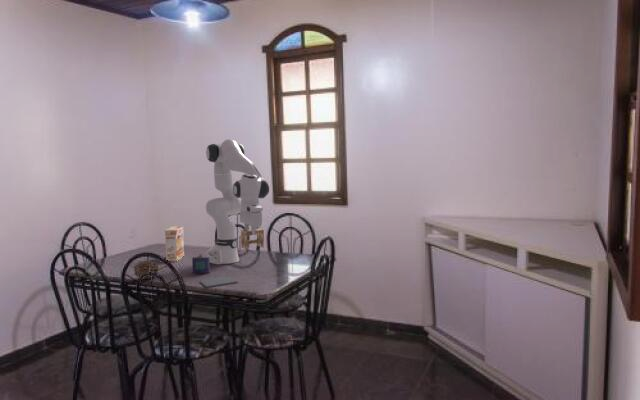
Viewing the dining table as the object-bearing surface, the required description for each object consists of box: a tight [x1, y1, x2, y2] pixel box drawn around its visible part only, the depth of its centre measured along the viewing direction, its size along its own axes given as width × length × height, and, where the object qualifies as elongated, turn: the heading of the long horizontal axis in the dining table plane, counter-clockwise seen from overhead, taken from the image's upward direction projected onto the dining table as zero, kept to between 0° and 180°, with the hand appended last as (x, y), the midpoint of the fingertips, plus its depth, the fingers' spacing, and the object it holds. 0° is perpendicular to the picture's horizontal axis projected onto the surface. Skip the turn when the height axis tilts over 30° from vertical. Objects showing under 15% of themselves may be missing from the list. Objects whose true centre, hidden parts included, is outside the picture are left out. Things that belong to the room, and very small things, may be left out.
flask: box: [191, 253, 211, 275], centre depth 255 cm, size 9×3×11 cm, turn 95°
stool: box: [240, 227, 265, 250], centre depth 236 cm, size 9×6×10 cm
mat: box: [199, 276, 238, 289], centre depth 237 cm, size 16×11×1 cm
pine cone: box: [133, 259, 168, 280], centre depth 248 cm, size 22×10×10 cm, turn 148°
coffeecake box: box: [164, 225, 185, 263], centre depth 288 cm, size 15×7×20 cm, turn 179°
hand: (250, 233), depth 235 cm, fingers closed on stool, 5 cm apart
